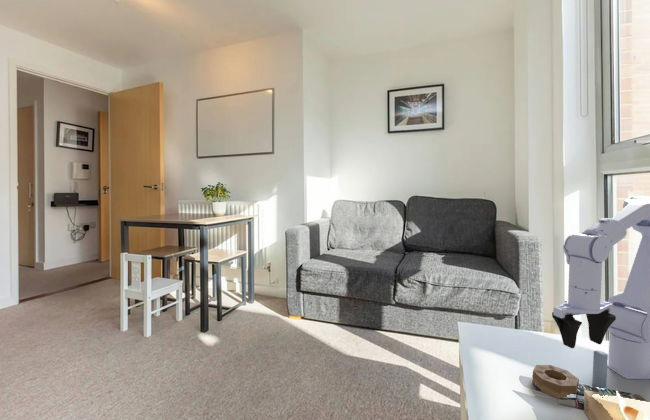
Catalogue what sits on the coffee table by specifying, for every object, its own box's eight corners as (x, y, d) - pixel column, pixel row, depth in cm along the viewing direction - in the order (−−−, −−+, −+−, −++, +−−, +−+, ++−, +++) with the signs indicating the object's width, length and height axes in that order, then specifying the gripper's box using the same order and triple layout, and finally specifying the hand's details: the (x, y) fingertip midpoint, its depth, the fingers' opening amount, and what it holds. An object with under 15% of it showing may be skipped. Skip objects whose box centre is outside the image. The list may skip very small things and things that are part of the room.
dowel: (599, 384, 73) (601, 350, 72) (609, 390, 70) (610, 356, 70) (589, 384, 73) (590, 350, 72) (598, 390, 70) (599, 356, 70)
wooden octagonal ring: (559, 376, 76) (560, 364, 75) (586, 399, 68) (587, 385, 67) (526, 377, 76) (526, 365, 76) (549, 399, 68) (549, 385, 68)
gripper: (591, 279, 77) (589, 332, 78) (542, 283, 74) (540, 339, 75) (624, 287, 70) (621, 346, 71) (571, 293, 67) (569, 354, 68)
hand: (582, 344), depth 72 cm, fingers open, 7 cm apart
